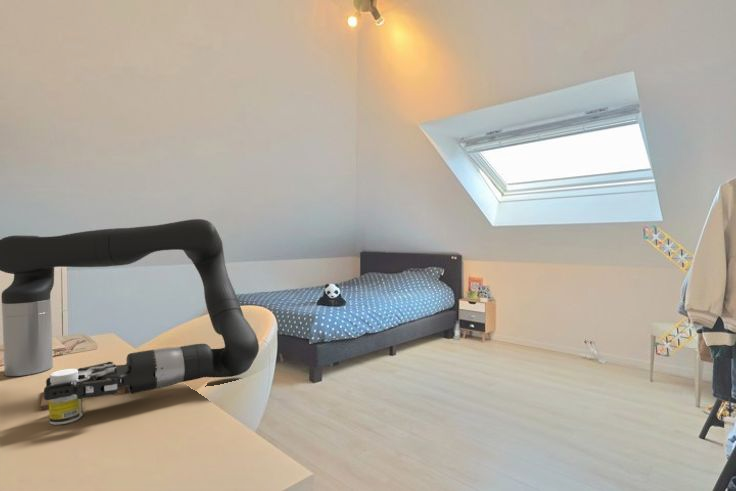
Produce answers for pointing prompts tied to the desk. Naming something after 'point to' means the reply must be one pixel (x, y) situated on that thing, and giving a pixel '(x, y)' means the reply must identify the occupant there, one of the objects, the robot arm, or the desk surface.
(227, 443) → the desk surface
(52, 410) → the supplement bottle
